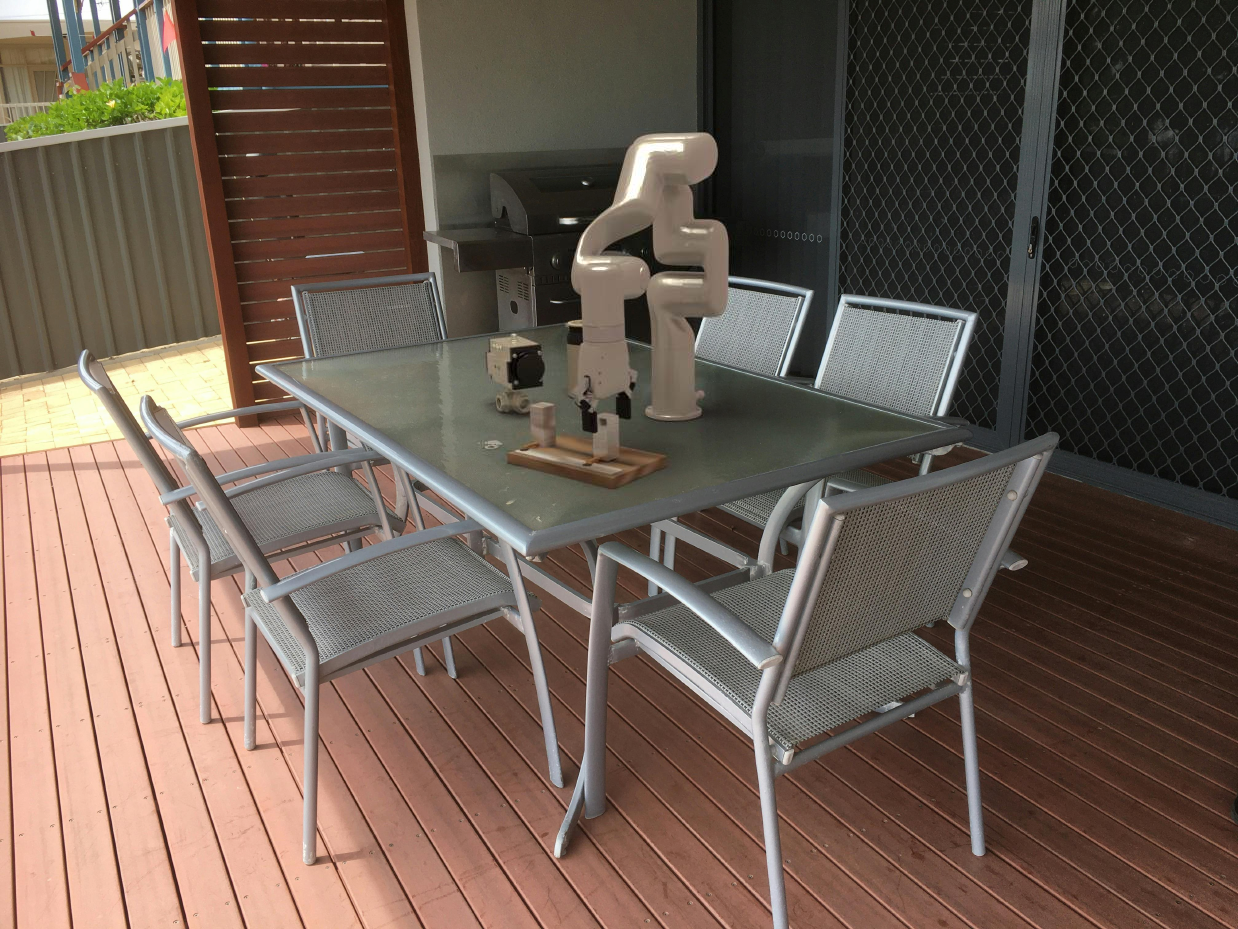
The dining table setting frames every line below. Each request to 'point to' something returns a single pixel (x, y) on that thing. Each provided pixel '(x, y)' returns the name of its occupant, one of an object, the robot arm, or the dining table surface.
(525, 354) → the ball valve
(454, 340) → the dining table surface
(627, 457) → the rule board
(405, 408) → the dining table surface
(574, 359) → the travel mug
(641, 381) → the dining table surface
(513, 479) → the dining table surface
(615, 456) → the sliding block with pointer
